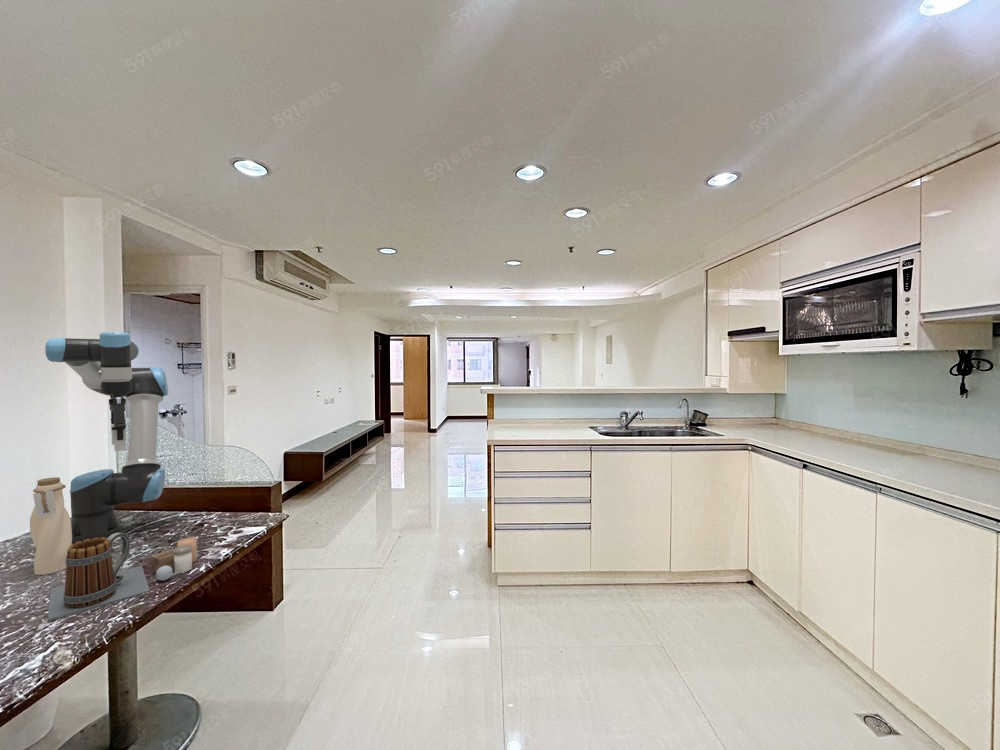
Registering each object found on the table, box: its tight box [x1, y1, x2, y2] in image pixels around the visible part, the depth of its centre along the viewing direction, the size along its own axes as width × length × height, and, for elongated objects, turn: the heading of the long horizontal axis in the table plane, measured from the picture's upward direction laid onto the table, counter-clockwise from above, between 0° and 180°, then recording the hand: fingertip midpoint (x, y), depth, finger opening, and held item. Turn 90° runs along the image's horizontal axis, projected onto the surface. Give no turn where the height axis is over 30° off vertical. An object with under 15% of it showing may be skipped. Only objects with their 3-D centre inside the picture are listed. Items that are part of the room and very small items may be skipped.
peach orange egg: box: [177, 536, 198, 563], centre depth 142 cm, size 5×5×7 cm
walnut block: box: [150, 549, 174, 574], centre depth 137 cm, size 5×5×5 cm
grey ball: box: [155, 566, 174, 582], centre depth 131 cm, size 4×4×4 cm
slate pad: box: [47, 565, 151, 623], centre depth 124 cm, size 20×20×1 cm
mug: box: [63, 532, 131, 608], centre depth 122 cm, size 16×11×15 cm
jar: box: [172, 545, 193, 574], centre depth 137 cm, size 5×5×7 cm
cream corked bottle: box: [29, 476, 72, 576], centre depth 136 cm, size 10×9×28 cm
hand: (118, 447), depth 142 cm, fingers open, 13 cm apart
